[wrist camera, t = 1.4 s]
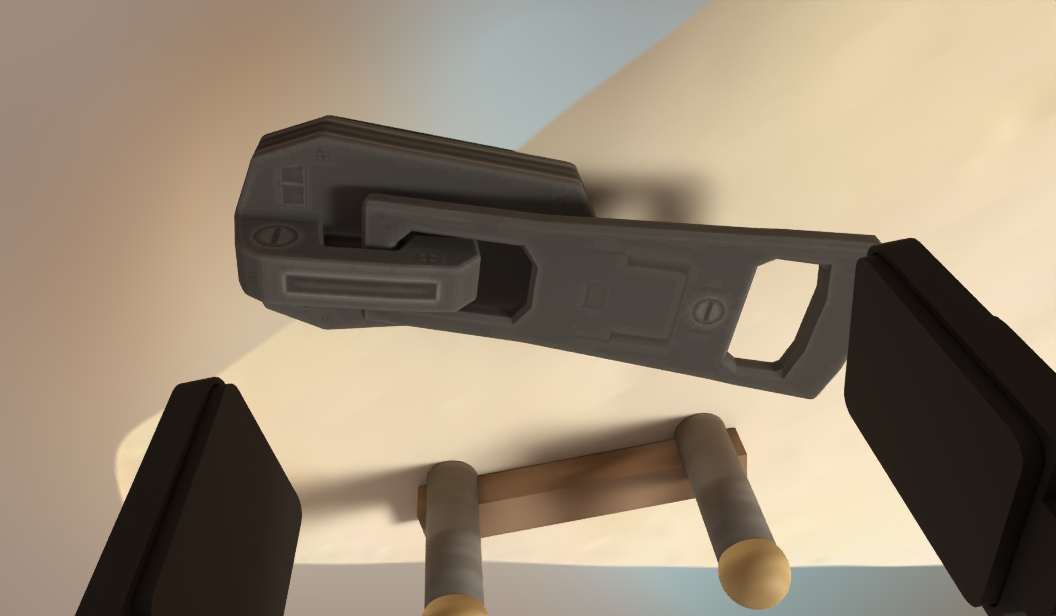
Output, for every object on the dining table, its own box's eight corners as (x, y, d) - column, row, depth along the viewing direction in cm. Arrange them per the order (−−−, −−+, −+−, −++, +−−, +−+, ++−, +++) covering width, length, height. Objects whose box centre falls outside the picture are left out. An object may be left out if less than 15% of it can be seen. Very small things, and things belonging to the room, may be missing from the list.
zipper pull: (827, 414, 33) (221, 395, 29) (772, 323, 38) (255, 297, 34) (914, 235, 28) (191, 183, 24) (836, 159, 33) (237, 107, 29)
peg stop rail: (734, 404, 41) (813, 573, 32) (735, 461, 44) (807, 632, 35) (409, 465, 41) (401, 649, 33) (430, 518, 44) (427, 701, 35)
